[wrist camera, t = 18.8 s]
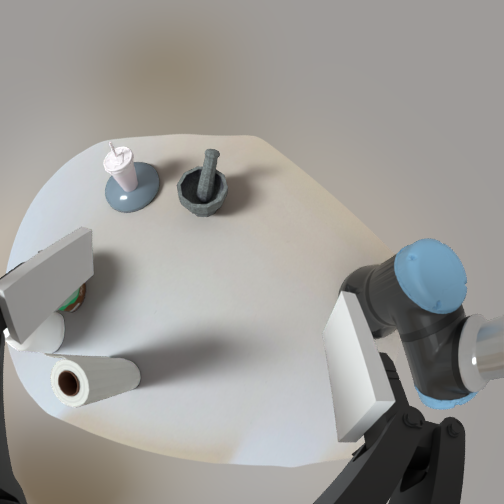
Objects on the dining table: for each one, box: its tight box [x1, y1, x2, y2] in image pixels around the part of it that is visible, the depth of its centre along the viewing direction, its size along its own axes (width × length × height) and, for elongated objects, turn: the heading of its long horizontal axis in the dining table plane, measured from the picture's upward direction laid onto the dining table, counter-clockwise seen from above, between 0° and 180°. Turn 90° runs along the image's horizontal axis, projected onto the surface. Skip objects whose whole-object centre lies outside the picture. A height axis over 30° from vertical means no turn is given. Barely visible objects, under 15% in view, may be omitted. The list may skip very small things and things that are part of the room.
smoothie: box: [104, 141, 138, 192], centre depth 50 cm, size 6×6×14 cm
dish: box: [105, 162, 159, 213], centre depth 57 cm, size 13×13×1 cm
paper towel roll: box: [44, 353, 141, 408], centre depth 34 cm, size 7×6×21 cm
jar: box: [3, 312, 65, 354], centre depth 37 cm, size 12×10×15 cm
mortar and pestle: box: [177, 149, 228, 217], centre depth 52 cm, size 11×9×12 cm
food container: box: [38, 250, 86, 312], centre depth 44 cm, size 12×6×10 cm, turn 27°
